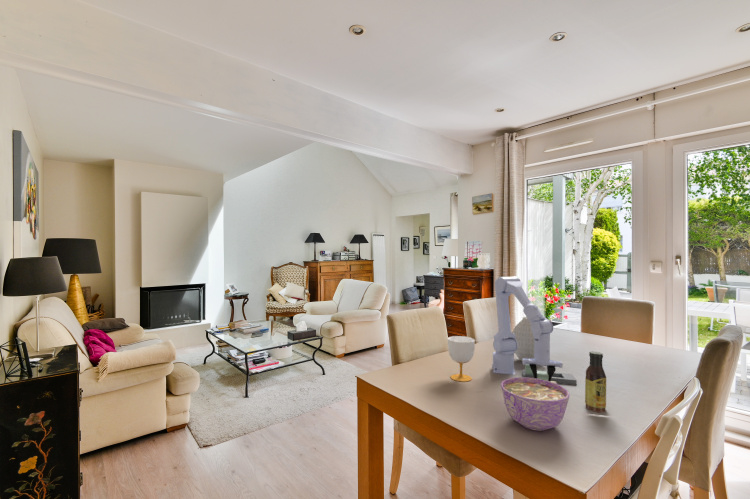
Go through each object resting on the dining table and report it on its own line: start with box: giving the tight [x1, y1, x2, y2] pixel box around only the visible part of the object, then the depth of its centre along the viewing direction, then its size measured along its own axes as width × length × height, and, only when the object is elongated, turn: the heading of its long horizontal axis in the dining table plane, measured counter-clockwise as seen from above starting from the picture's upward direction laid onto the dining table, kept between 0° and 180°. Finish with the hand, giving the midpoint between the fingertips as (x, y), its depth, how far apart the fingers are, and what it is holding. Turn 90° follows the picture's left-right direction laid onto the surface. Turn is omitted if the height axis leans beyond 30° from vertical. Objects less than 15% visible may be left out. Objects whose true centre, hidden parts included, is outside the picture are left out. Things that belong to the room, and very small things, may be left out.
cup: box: [447, 335, 476, 383], centre depth 155 cm, size 12×12×17 cm
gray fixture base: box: [521, 364, 578, 386], centre depth 152 cm, size 20×8×6 cm, turn 73°
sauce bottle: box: [584, 350, 607, 413], centre depth 124 cm, size 7×6×20 cm
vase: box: [511, 316, 534, 362], centre depth 179 cm, size 16×16×22 cm
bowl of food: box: [500, 376, 570, 432], centre depth 113 cm, size 20×20×12 cm
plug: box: [537, 370, 549, 381], centre depth 142 cm, size 4×4×6 cm
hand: (542, 383), depth 142 cm, fingers closed on plug, 4 cm apart
